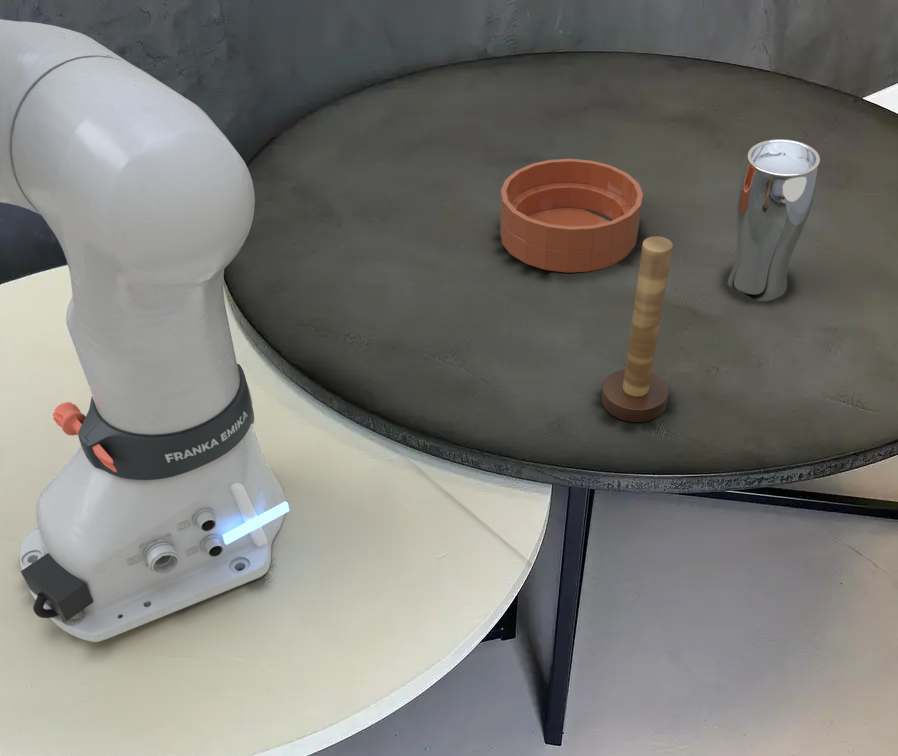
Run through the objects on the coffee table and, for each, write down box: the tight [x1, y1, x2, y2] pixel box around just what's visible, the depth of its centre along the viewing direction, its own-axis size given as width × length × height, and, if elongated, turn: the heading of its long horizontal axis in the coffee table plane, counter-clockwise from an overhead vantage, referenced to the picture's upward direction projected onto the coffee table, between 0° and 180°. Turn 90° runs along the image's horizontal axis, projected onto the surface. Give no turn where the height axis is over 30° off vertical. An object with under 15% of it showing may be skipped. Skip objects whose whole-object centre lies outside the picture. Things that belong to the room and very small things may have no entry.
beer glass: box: [727, 138, 821, 302], centre depth 98 cm, size 7×7×15 cm
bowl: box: [499, 158, 644, 273], centre depth 109 cm, size 15×15×6 cm
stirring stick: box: [601, 236, 674, 423], centre depth 86 cm, size 6×6×16 cm
